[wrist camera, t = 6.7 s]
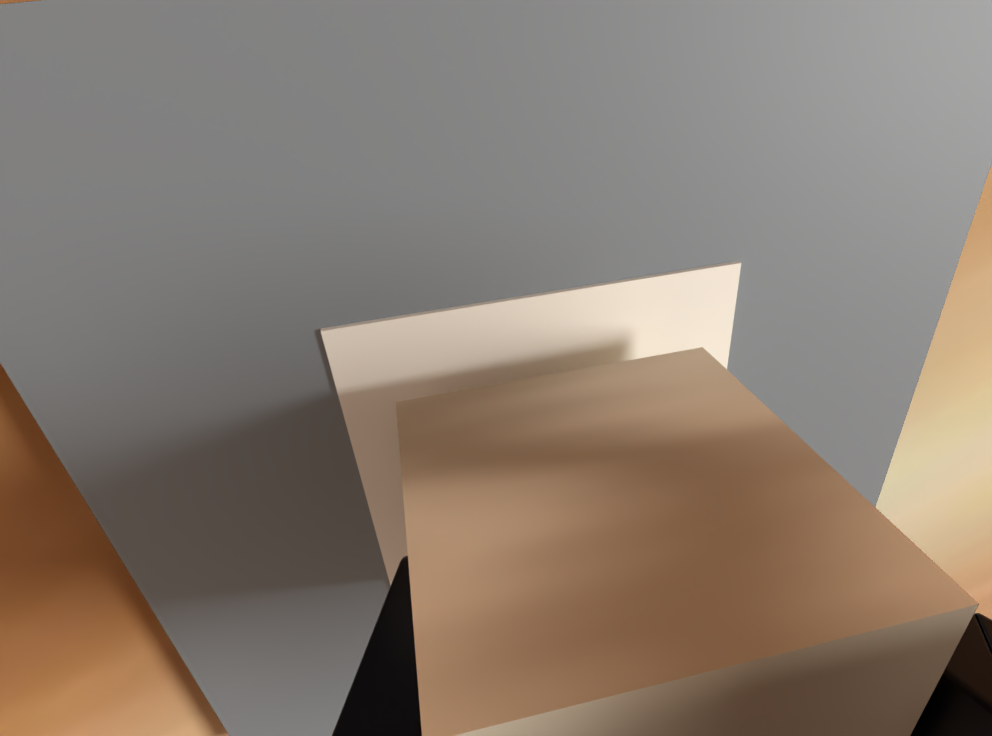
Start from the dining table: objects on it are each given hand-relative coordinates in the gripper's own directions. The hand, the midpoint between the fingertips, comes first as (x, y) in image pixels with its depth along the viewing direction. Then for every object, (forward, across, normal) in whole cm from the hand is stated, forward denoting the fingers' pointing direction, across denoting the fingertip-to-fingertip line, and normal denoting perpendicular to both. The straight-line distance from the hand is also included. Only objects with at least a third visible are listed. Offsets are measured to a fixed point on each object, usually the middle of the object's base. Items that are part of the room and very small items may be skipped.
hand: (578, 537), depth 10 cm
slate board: (+3, 0, 0) cm, 3 cm away
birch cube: (+1, 0, 0) cm, 1 cm away
